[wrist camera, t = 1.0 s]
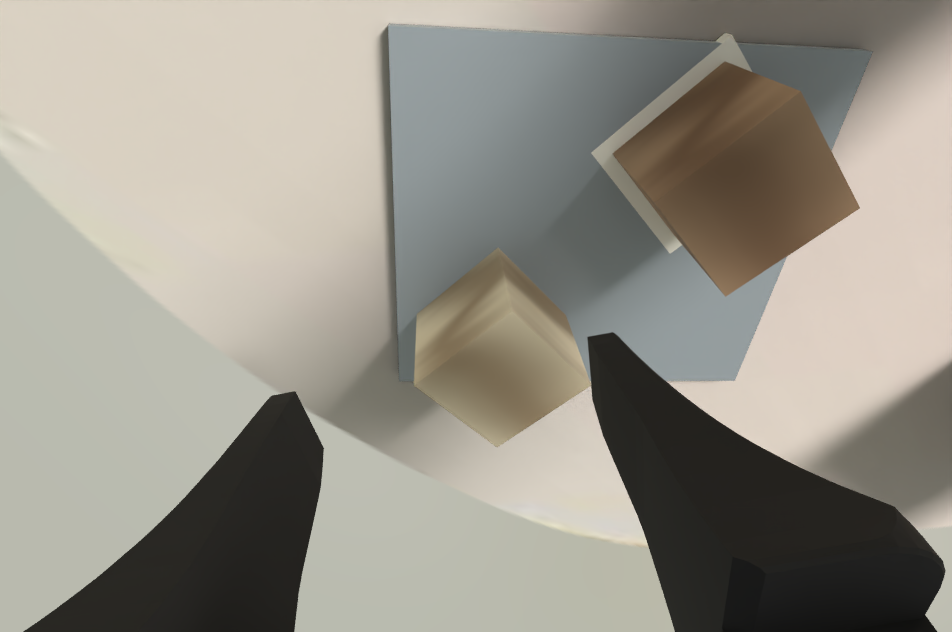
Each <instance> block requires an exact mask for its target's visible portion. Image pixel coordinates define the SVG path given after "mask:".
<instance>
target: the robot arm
mask: <svg viewBox="0 0 952 632" xmlns="http://www.w3.org/2000/svg"><path fill="white" fill-rule="evenodd" d="M587 339H588V351H589V363H590V375H591V387H592V399H593V403H594V406H595V410H596V413H597V417H598V420H599V423H600V427H601V430H602V433H603V436H604V439H605V441H606V443H607V446H608V448H609V451H610V453H611V455H612V458H613V460H614V462H615V465H616V467H617V469H618V471H619V474H620V476H621V478H622V481H623V483H624V485H625V488H626V490H627V492H628V495H629V497H630V499H631V502H632V504H633V506H634V508H635V511H636V513H637V515H638V518H639V521H640V523H641V526H642V528H643V531H644V534H645V537H646V540H647V543H648V546H649V549H650V552H651V555H652V559H653V562H654V565H655V568H656V571H657V574H658V577H659V581H660V584H661V587H662V590H663V593H664V597H665V600H666V603H667V607H668V610H669V613H670V616H671V620H672V623H673V626H674V630H675V632H937V631H936V630H935V628H934V626H933V625H932V624H931V622H930V621H929V620H928V618H927V617H926V616H925V614H926V612H927V610H928V609H929V607H930V605H931V603H932V601H933V600H934V598H935V596H936V594H937V593H938V591H939V589H940V587H941V584H942V581H943V578H944V575H945V568H944V564H943V561H942V559H941V558H940V557H939V556H938V555H937V553H936V552H935V551H934V550H933V549H932V547H931V546H930V545H929V544H928V543H927V541H926V540H925V539H924V538H923V536H922V535H921V534H920V533H919V532H918V531H917V530H916V529H915V527H914V526H913V525H912V524H911V523H910V522H909V521H908V520H907V519H906V518H904V517H903V516H902V515H901V513H900V512H899V511H898V510H897V509H896V508H895V507H894V506H891V505H889V504H886V503H883V502H881V501H878V500H876V499H873V498H871V497H868V496H866V495H863V494H860V493H858V492H855V491H853V490H850V489H848V488H845V487H842V486H840V485H837V484H835V483H833V482H830V481H828V480H826V479H824V478H822V477H819V476H817V475H815V474H813V473H811V472H808V471H806V470H804V469H802V468H800V467H798V466H796V465H794V464H792V463H790V462H788V461H786V460H784V459H782V458H780V457H778V456H776V455H775V454H773V453H771V452H769V451H767V450H765V449H763V448H761V447H760V446H758V445H756V444H754V443H752V442H750V441H749V440H747V439H745V438H744V437H742V436H740V435H739V434H737V433H736V432H734V431H732V430H731V429H729V428H728V427H726V426H725V425H723V424H722V423H720V422H719V421H717V420H716V419H714V418H713V417H711V416H710V415H708V414H707V413H706V412H704V411H703V410H702V409H700V408H699V407H697V406H696V405H695V404H694V403H692V402H691V401H690V400H688V399H687V398H686V397H684V396H683V395H682V394H681V393H679V392H678V391H677V390H676V389H674V388H673V387H672V386H671V385H670V384H669V383H667V382H666V381H665V380H664V379H663V378H662V377H660V376H659V375H658V374H657V373H656V372H655V371H653V370H652V369H651V368H650V367H649V366H648V365H647V364H646V363H645V362H644V361H643V360H642V359H641V358H639V357H638V356H637V355H636V354H635V353H634V352H633V351H632V350H631V349H630V348H629V347H628V346H627V345H626V344H625V343H624V342H623V341H622V340H621V338H620V337H619V336H618V335H616V334H615V333H613V332H611V333H605V334H600V335H595V336H589V337H587ZM323 449H324V448H323V446H322V444H321V442H320V440H319V438H318V436H317V434H316V432H315V430H314V428H313V426H312V424H311V422H310V420H309V418H308V416H307V414H306V412H305V410H304V408H303V406H302V404H301V402H300V400H299V398H298V396H297V394H296V392H289V393H284V394H279V395H273V396H271V397H270V398H269V399H268V400H267V401H266V402H265V404H264V405H263V406H262V407H261V409H260V410H259V411H258V412H257V413H256V415H255V416H254V417H253V418H252V419H251V421H250V422H249V423H248V425H247V426H246V427H245V428H244V429H243V431H242V432H241V433H240V434H239V436H238V437H237V438H236V439H235V440H234V442H233V443H232V444H231V445H230V446H229V448H228V449H227V450H226V451H225V453H224V454H223V455H222V456H221V458H220V459H219V460H218V461H217V462H216V463H215V465H214V466H213V467H212V468H211V469H210V470H209V471H208V472H207V473H206V474H205V476H204V477H203V478H202V479H201V480H200V481H199V483H197V485H196V486H195V487H194V488H193V489H192V490H191V491H190V492H189V493H188V495H187V496H186V497H185V498H184V499H183V500H182V501H181V502H180V503H179V504H178V505H177V506H176V507H175V508H174V509H173V510H172V511H171V512H170V513H169V514H168V515H167V516H166V517H165V518H164V519H163V520H162V521H161V522H160V523H159V524H158V525H157V526H156V527H155V528H154V529H153V530H152V531H150V532H149V533H148V534H147V535H146V536H145V537H144V538H143V539H142V540H141V541H139V542H138V543H137V544H136V545H135V546H134V547H132V548H131V549H130V550H129V551H128V552H127V553H125V554H124V555H123V556H122V557H121V558H120V559H118V560H117V561H116V562H115V563H114V564H113V565H112V566H110V567H109V568H108V569H107V570H106V571H104V572H103V573H102V574H101V575H100V576H98V577H97V578H96V579H95V580H93V581H92V582H91V583H89V584H88V585H87V586H86V587H84V588H83V589H82V590H81V591H79V592H78V593H77V594H75V595H74V596H73V597H71V598H70V599H69V600H67V601H66V602H65V603H63V604H62V605H60V606H59V607H58V608H57V609H55V610H54V611H52V612H51V613H50V614H48V615H47V616H45V617H44V618H43V619H41V620H40V621H38V622H37V623H35V624H34V625H32V626H31V627H30V628H28V629H27V630H25V631H24V632H294V629H295V620H296V611H297V602H298V593H299V587H300V582H301V576H302V571H303V566H304V562H305V557H306V553H307V548H308V544H309V539H310V535H311V530H312V526H313V521H314V516H315V512H316V507H317V502H318V498H319V493H320V488H321V478H322V467H323Z"/></svg>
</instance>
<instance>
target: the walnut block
mask: <svg viewBox="0 0 952 632" xmlns="http://www.w3.org/2000/svg"><path fill="white" fill-rule="evenodd" d="M612 154H613V155H614V157H615V158H616V159H617V161H618V162H619V163H620V165H621V166H622V167H623V168H624V170H625V171H626V172H627V174H628V175H629V176H630V178H631V179H632V180H633V182H634V183H635V184H636V186H637V187H638V188H639V190H640V191H641V192H642V194H643V195H644V196H645V197H646V199H647V200H648V201H649V203H650V204H651V205H652V207H653V208H654V209H655V211H656V212H657V213H658V215H659V216H660V217H661V219H662V220H663V221H664V223H665V224H666V225H667V226H668V228H669V229H670V230H671V232H672V233H673V234H674V236H675V237H676V238H677V239H678V241H679V242H680V243H681V244H682V245H683V247H684V248H685V249H686V250H687V251H688V252H689V254H690V255H691V256H692V257H693V258H694V260H695V261H696V262H697V263H698V264H699V266H700V267H701V268H702V269H703V270H704V272H705V273H706V274H707V275H708V276H709V278H710V279H711V280H712V281H713V282H714V284H715V285H716V286H717V287H718V288H719V290H720V291H721V292H722V293H723V294H724V296H725V297H726V296H728V295H729V294H731V293H732V292H734V291H735V290H737V289H738V288H740V287H741V286H743V285H744V284H746V283H747V282H749V281H750V280H752V279H753V278H755V277H756V276H758V275H759V274H761V273H762V272H764V271H765V270H767V269H768V268H770V267H771V266H773V265H774V264H776V263H778V262H779V261H781V260H782V259H784V258H785V257H787V256H788V255H790V254H791V253H793V252H794V251H796V250H797V249H799V248H800V247H802V246H803V245H805V244H806V243H808V242H809V241H811V240H812V239H814V238H815V237H817V236H818V235H820V234H821V233H823V232H824V231H826V230H828V229H829V228H831V227H832V226H834V225H835V224H837V223H838V222H840V221H841V220H843V219H844V218H846V217H847V216H849V215H850V214H852V213H853V212H855V211H856V210H858V209H859V208H860V207H859V205H858V203H857V201H856V199H855V197H854V195H853V193H852V191H851V189H850V187H849V185H848V183H847V181H846V179H845V178H844V176H843V174H842V172H841V170H840V168H839V166H838V164H837V162H836V160H835V158H834V156H833V154H832V152H831V150H830V148H829V146H828V144H827V142H826V140H825V138H824V136H823V134H822V132H821V130H820V128H819V126H818V124H817V122H816V120H815V118H814V116H813V114H812V112H811V110H810V108H809V106H808V104H807V102H806V100H805V98H804V96H803V94H802V92H801V91H799V90H796V89H794V88H791V87H789V86H786V85H784V84H781V83H779V82H776V81H774V80H771V79H769V78H766V77H764V76H761V75H758V74H756V73H753V72H751V71H748V70H746V69H743V68H741V67H738V66H736V65H733V64H731V63H728V62H723V63H722V64H721V65H720V66H718V67H717V68H716V69H715V70H714V71H712V72H711V73H710V74H709V75H707V76H706V77H705V78H704V79H703V80H701V81H700V82H699V83H698V84H697V85H695V86H694V87H693V88H692V89H690V90H689V91H688V92H687V93H686V94H684V95H683V96H682V97H681V98H679V99H678V100H677V101H676V102H675V103H673V104H672V105H671V106H670V107H668V108H667V109H666V110H665V111H664V112H662V113H661V114H660V115H659V116H658V117H656V118H655V119H654V120H653V121H651V122H650V123H649V124H648V125H647V126H645V127H644V128H643V129H642V130H640V131H639V132H638V133H637V134H636V135H634V136H633V137H632V138H631V139H630V140H628V141H627V142H626V143H625V144H623V145H622V146H621V147H620V148H619V149H617V150H616V151H615V152H614V153H612Z"/></svg>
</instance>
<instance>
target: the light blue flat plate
mask: <svg viewBox="0 0 952 632" xmlns="http://www.w3.org/2000/svg"><path fill="white" fill-rule="evenodd" d="M388 36H389V69H390V101H391V133H392V166H393V198H394V231H395V263H396V295H397V328H398V360H399V381H414V370H415V346H416V321H417V313H419V312H420V311H421V310H422V309H424V308H425V307H426V306H427V305H428V304H430V303H431V302H432V301H433V300H435V299H436V298H437V297H438V296H439V295H441V294H442V293H443V292H444V291H445V290H447V289H448V288H449V287H450V286H452V285H453V284H454V283H455V282H456V281H458V280H459V279H460V278H461V277H463V276H464V275H465V274H466V273H467V272H469V271H470V270H471V269H472V268H473V267H475V266H476V265H477V264H478V263H480V262H481V261H482V260H483V259H484V258H486V257H487V256H488V255H489V254H491V253H492V252H493V251H494V250H495V249H497V248H499V249H500V250H501V251H502V252H503V253H504V254H505V255H506V256H507V257H508V258H509V259H510V260H511V261H512V262H513V263H514V264H515V265H516V266H517V267H518V268H519V269H520V270H521V271H522V272H523V273H524V274H525V275H526V276H527V277H528V278H529V279H530V280H531V281H532V282H533V283H534V284H535V285H536V286H537V287H538V288H539V289H540V290H541V291H542V292H543V293H544V294H545V295H546V296H547V297H548V298H549V299H550V300H551V301H552V302H553V303H554V304H555V305H556V306H557V307H558V308H559V309H560V310H561V311H562V312H563V313H564V314H565V315H566V317H567V320H568V322H569V325H570V328H571V331H572V333H573V336H574V339H575V342H576V344H577V347H578V350H579V353H580V355H581V358H582V361H583V364H584V366H585V369H586V372H587V375H588V377H589V380H590V381H591V375H590V363H589V351H588V339H587V337H589V336H595V335H600V334H605V333H611V332H613V333H615V334H616V335H618V336H619V337H620V338H621V340H622V341H623V342H624V343H625V344H626V345H627V346H628V347H629V348H630V349H631V350H632V351H633V352H634V353H635V354H636V355H637V356H638V357H639V358H641V359H642V360H643V361H644V362H645V363H646V364H647V365H648V366H649V367H650V368H651V369H652V370H653V371H655V372H656V373H657V374H658V375H659V376H660V377H662V378H663V379H664V380H665V381H735V379H736V376H737V374H738V372H739V369H740V367H741V364H742V362H743V360H744V357H745V355H746V353H747V350H748V348H749V345H750V343H751V341H752V338H753V336H754V334H755V331H756V329H757V326H758V324H759V322H760V319H761V317H762V314H763V312H764V310H765V307H766V305H767V303H768V300H769V298H770V295H771V293H772V291H773V288H774V286H775V284H776V281H777V279H778V276H779V274H780V272H781V269H782V267H783V265H784V262H785V260H786V257H785V258H784V259H782V260H781V261H779V262H778V263H776V264H774V265H773V266H771V267H770V268H768V269H767V270H765V271H764V272H762V273H761V274H759V275H758V276H756V277H755V278H753V279H752V280H750V281H749V282H747V283H746V284H744V285H743V286H741V287H740V288H738V289H737V290H735V291H734V292H732V293H731V294H729V295H728V296H726V297H725V296H724V294H723V293H722V292H721V291H720V290H719V288H718V287H717V286H716V285H715V284H714V282H713V281H712V280H711V279H710V278H709V276H708V275H707V274H706V273H705V272H704V270H703V269H702V268H701V267H700V266H699V264H698V263H697V262H696V261H695V260H694V258H693V257H692V256H691V255H690V254H689V252H688V251H687V250H686V249H685V248H684V247H683V245H682V244H681V243H680V242H679V241H678V239H677V238H676V237H675V236H674V234H673V233H672V232H671V230H670V229H669V228H668V226H667V225H666V224H665V223H664V221H663V220H662V219H661V217H660V216H659V215H658V213H657V212H656V211H655V209H654V208H653V207H652V205H651V204H650V203H649V201H648V200H647V199H646V197H645V196H644V195H643V194H642V192H641V191H640V190H639V188H638V187H637V186H636V184H635V183H634V182H633V180H632V179H631V178H630V176H629V175H628V174H627V172H626V171H625V170H624V168H623V167H622V166H621V165H620V163H619V162H618V161H617V159H616V158H615V157H614V155H613V154H612V153H614V152H615V151H616V150H617V149H619V148H620V147H621V146H622V145H623V144H625V143H626V142H627V141H628V140H630V139H631V138H632V137H633V136H634V135H636V134H637V133H638V132H639V131H640V130H642V129H643V128H644V127H645V126H647V125H648V124H649V123H650V122H651V121H653V120H654V119H655V118H656V117H658V116H659V115H660V114H661V113H662V112H664V111H665V110H666V109H667V108H668V107H670V106H671V105H672V104H673V103H675V102H676V101H677V100H678V99H679V98H681V97H682V96H683V95H684V94H686V93H687V92H688V91H689V90H690V89H692V88H693V87H694V86H695V85H697V84H698V83H699V82H700V81H701V80H703V79H704V78H705V77H706V76H707V75H709V74H710V73H711V72H712V71H714V70H715V69H716V68H717V67H718V66H720V65H721V64H722V63H723V62H728V63H731V64H733V65H736V66H738V67H741V68H743V69H746V70H748V71H751V72H753V73H756V74H758V75H761V76H764V77H766V78H769V79H771V80H774V81H776V82H779V83H781V84H784V85H786V86H789V87H791V88H794V89H796V90H799V91H801V92H802V94H803V96H804V98H805V100H806V102H807V104H808V106H809V108H810V110H811V112H812V114H813V116H814V118H815V120H816V122H817V124H818V126H819V128H820V130H821V132H822V134H823V136H824V138H825V140H826V142H827V144H828V146H829V148H830V150H832V148H833V146H834V143H835V141H836V138H837V136H838V134H839V131H840V129H841V127H842V124H843V122H844V119H845V117H846V115H847V112H848V110H849V107H850V105H851V103H852V100H853V98H854V96H855V93H856V91H857V88H858V86H859V84H860V81H861V79H862V77H863V74H864V72H865V69H866V67H867V65H868V62H869V60H870V58H871V55H872V53H873V51H869V50H864V49H850V48H832V47H813V46H795V45H776V44H758V43H739V42H736V41H735V39H734V37H733V35H731V34H727V33H724V34H723V35H722V36H721V37H720V38H718V39H717V40H716V41H702V40H684V39H665V38H647V37H628V36H610V35H591V34H572V33H554V32H535V31H517V30H498V29H480V28H461V27H443V26H424V25H406V24H389V25H388Z"/></svg>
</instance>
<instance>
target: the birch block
mask: <svg viewBox="0 0 952 632" xmlns="http://www.w3.org/2000/svg"><path fill="white" fill-rule="evenodd" d="M414 386H415V387H416V388H418V389H419V390H420V391H422V392H423V393H424V394H426V395H427V396H428V397H430V398H431V399H433V400H434V401H435V402H437V403H438V404H439V405H441V406H442V407H443V408H445V409H446V410H447V411H449V412H450V413H451V414H453V415H454V416H455V417H457V418H458V419H459V420H461V421H462V422H463V423H465V424H466V425H468V426H469V427H470V428H472V429H473V430H474V431H476V432H477V433H478V434H480V435H481V436H482V437H484V438H485V439H486V440H488V441H489V442H490V443H492V444H493V445H494V446H496V447H498V446H500V445H501V444H503V443H504V442H506V441H507V440H509V439H511V438H512V437H514V436H515V435H517V434H518V433H520V432H521V431H523V430H524V429H526V428H527V427H529V426H530V425H532V424H533V423H535V422H536V421H538V420H539V419H541V418H542V417H544V416H545V415H547V414H548V413H550V412H551V411H553V410H554V409H556V408H557V407H559V406H560V405H562V404H564V403H565V402H567V401H568V400H570V399H571V398H573V397H574V396H576V395H577V394H579V393H580V392H582V391H583V390H585V389H586V388H588V387H589V386H591V383H590V380H589V377H588V375H587V372H586V369H585V366H584V364H583V361H582V358H581V355H580V353H579V350H578V347H577V344H576V342H575V339H574V336H573V333H572V331H571V328H570V325H569V322H568V320H567V317H566V315H565V314H564V313H563V312H562V311H561V310H560V309H559V308H558V307H557V306H556V305H555V304H554V303H553V302H552V301H551V300H550V299H549V298H548V297H547V296H546V295H545V294H544V293H543V292H542V291H541V290H540V289H539V288H538V287H537V286H536V285H535V284H534V283H533V282H532V281H531V280H530V279H529V278H528V277H527V276H526V275H525V274H524V273H523V272H522V271H521V270H520V269H519V268H518V267H517V266H516V265H515V264H514V263H513V262H512V261H511V260H510V259H509V258H508V257H507V256H506V255H505V254H504V253H503V252H502V251H501V250H500V249H499V248H497V249H495V250H494V251H493V252H492V253H491V254H489V255H488V256H487V257H486V258H484V259H483V260H482V261H481V262H480V263H478V264H477V265H476V266H475V267H473V268H472V269H471V270H470V271H469V272H467V273H466V274H465V275H464V276H463V277H461V278H460V279H459V280H458V281H456V282H455V283H454V284H453V285H452V286H450V287H449V288H448V289H447V290H445V291H444V292H443V293H442V294H441V295H439V296H438V297H437V298H436V299H435V300H433V301H432V302H431V303H430V304H428V305H427V306H426V307H425V308H424V309H422V310H421V311H420V312H419V313H417V321H416V346H415V370H414Z"/></svg>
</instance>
